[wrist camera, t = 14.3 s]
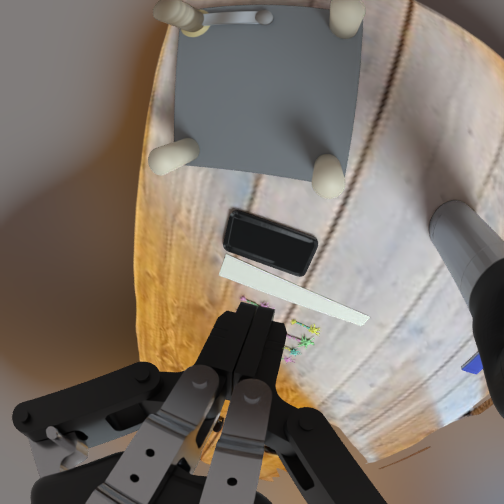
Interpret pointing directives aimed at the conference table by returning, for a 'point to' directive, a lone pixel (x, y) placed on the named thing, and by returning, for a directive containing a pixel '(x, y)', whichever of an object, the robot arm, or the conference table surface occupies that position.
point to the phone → (269, 243)
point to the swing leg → (204, 16)
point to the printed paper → (287, 294)
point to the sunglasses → (218, 426)
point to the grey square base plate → (269, 95)
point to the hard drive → (473, 364)
